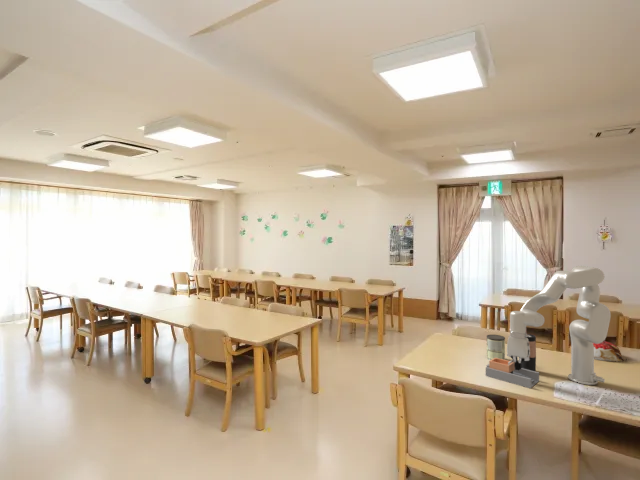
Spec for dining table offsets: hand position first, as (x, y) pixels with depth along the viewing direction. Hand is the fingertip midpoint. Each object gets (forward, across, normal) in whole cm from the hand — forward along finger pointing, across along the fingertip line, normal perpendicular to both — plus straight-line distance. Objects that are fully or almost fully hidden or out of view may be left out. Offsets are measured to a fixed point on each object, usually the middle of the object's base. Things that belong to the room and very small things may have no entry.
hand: (518, 369), depth 186 cm
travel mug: (+6, +1, -18) cm, 19 cm away
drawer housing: (+6, +3, 0) cm, 6 cm away
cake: (+6, -22, -80) cm, 83 cm away
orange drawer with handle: (+4, +8, +1) cm, 9 cm away
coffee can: (+6, +21, -24) cm, 33 cm away
